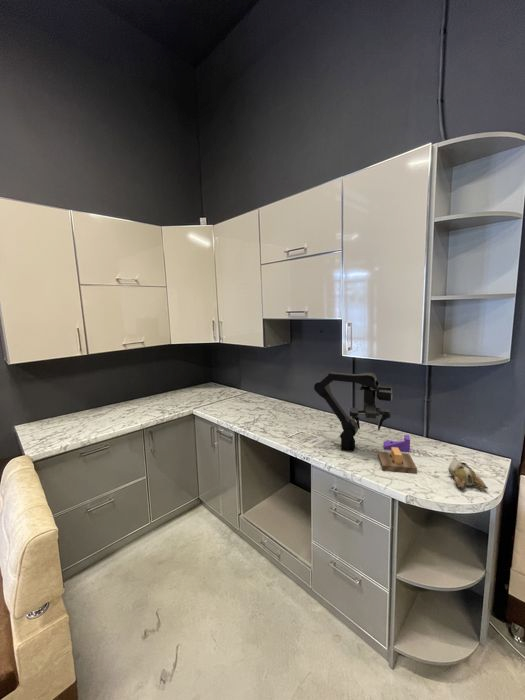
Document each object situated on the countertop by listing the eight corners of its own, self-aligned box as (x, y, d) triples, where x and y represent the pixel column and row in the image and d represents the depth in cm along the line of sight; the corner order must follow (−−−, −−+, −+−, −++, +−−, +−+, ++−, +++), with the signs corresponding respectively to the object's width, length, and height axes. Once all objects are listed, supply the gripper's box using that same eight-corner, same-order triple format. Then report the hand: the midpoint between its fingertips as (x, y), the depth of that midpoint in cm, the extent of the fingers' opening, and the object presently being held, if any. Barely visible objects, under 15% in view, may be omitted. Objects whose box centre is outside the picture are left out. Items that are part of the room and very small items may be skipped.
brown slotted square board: (382, 470, 136) (382, 465, 135) (377, 456, 149) (377, 451, 149) (416, 473, 133) (417, 468, 132) (408, 458, 146) (408, 453, 146)
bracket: (408, 447, 159) (408, 434, 158) (409, 452, 153) (410, 439, 152) (383, 444, 163) (383, 431, 162) (383, 449, 157) (384, 436, 156)
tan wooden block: (394, 468, 137) (394, 454, 137) (390, 460, 145) (391, 447, 144) (401, 469, 137) (402, 455, 136) (397, 460, 144) (398, 447, 144)
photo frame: (309, 447, 160) (285, 437, 173) (309, 449, 160) (285, 439, 173) (326, 439, 169) (302, 430, 183) (326, 441, 169) (302, 432, 183)
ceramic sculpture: (467, 454, 131) (491, 474, 116) (466, 472, 132) (489, 495, 118) (441, 454, 131) (462, 474, 117) (440, 472, 133) (460, 494, 118)
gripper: (350, 402, 144) (350, 434, 146) (392, 404, 140) (392, 437, 142) (349, 396, 155) (349, 426, 157) (388, 397, 151) (387, 428, 153)
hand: (368, 429), depth 152 cm, fingers open, 9 cm apart
